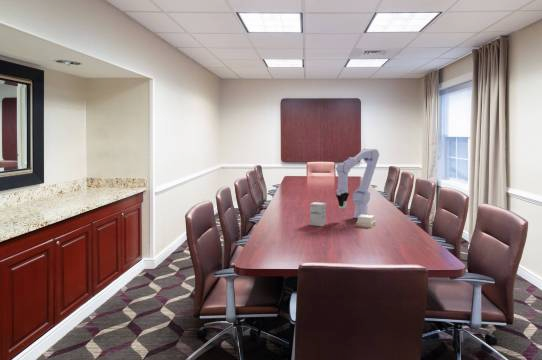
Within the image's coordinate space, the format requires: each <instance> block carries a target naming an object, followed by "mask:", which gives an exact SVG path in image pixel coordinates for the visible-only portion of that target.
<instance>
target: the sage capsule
mask: <svg viewBox="0 0 542 360" xmlns="http://www.w3.org/2000/svg"><path fill="white" fill-rule="evenodd" d="M338 209H347V201H344V204H343V206H339V205H338Z"/></svg>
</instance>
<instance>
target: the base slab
mask: <svg viewBox="0 0 542 360" xmlns="http://www.w3.org/2000/svg"><path fill="white" fill-rule="evenodd" d="M355 224H356V225H355V226H356V227H363V228H370V229H371V228H374V227H375V226H376V225H377V220H374V221H373V222H372V223H365V222H358V220H357V221H356V223H355Z"/></svg>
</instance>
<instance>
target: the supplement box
mask: <svg viewBox="0 0 542 360" xmlns="http://www.w3.org/2000/svg"><path fill="white" fill-rule="evenodd" d="M309 205H310V207H309V209H310V210H309V225H310V226H317V227H323V226H325V225H326V220H327V218H326V217H327V216H326V215H327V214H326V212H327V202H317V201H314V202H313V201H312V202H311V203H310V204H309Z"/></svg>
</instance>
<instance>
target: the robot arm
mask: <svg viewBox="0 0 542 360" xmlns="http://www.w3.org/2000/svg"><path fill="white" fill-rule="evenodd" d="M379 157H380V153H379V150H378V149H377V148H363V149H360V151H359V153H358V154H356V155H355V156H353V157H350V156H349V157H348V158H347V159H346V160H344V161H343V162H341V163H340V162H339V163H338V164H337V166H336V168H335V170H336V173H337V189H336V190H335V192H336V194H335V197H336V198H337V201H338V207H339V206H343V204H344V201H346V202H347V201H348V198H349V195H350V193H349V189H348V185H349V182H348V181H349V173H350V171H351V170H352V169H353V168H354V167H355V166H357V164H358V162H360V161H361V160H363V161H364V162H365V164H366V166H365V170H364V173H363V176H362V179H361V181H360V185H359V187H358V188H356V189H355V191H354V192H353V193H352V196H351V197H352V201H353V203H354V216H352V219H353V218H354V219H358V216H360V215H361V214H363V215H368V212H369V210H368V203H369V202H370V198H371V192H370V190H369V187H370V185H371V182H372V178H373V175H374V173H375V170H376V166H377V163H378V161H379Z"/></svg>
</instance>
